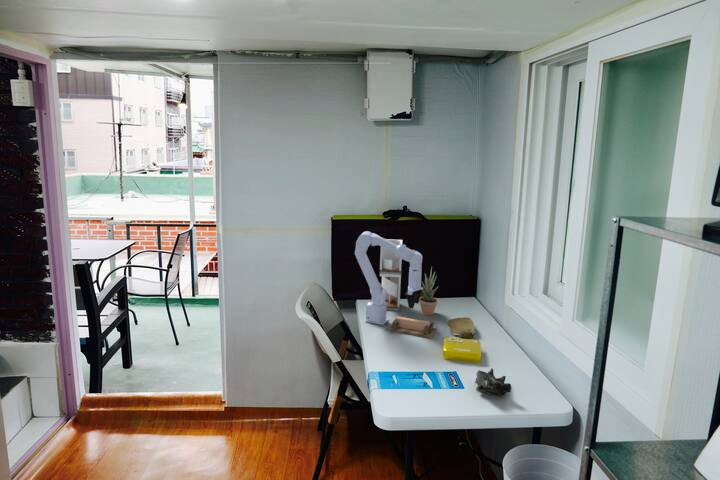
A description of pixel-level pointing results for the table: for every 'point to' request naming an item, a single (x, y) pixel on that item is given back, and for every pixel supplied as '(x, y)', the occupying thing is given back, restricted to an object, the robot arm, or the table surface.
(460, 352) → the element tile
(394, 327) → the strip rack
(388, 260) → the display case
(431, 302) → the potted plant
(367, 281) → the robot arm
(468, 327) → the stone tool
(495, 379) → the mineral specimen
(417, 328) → the clay strip
